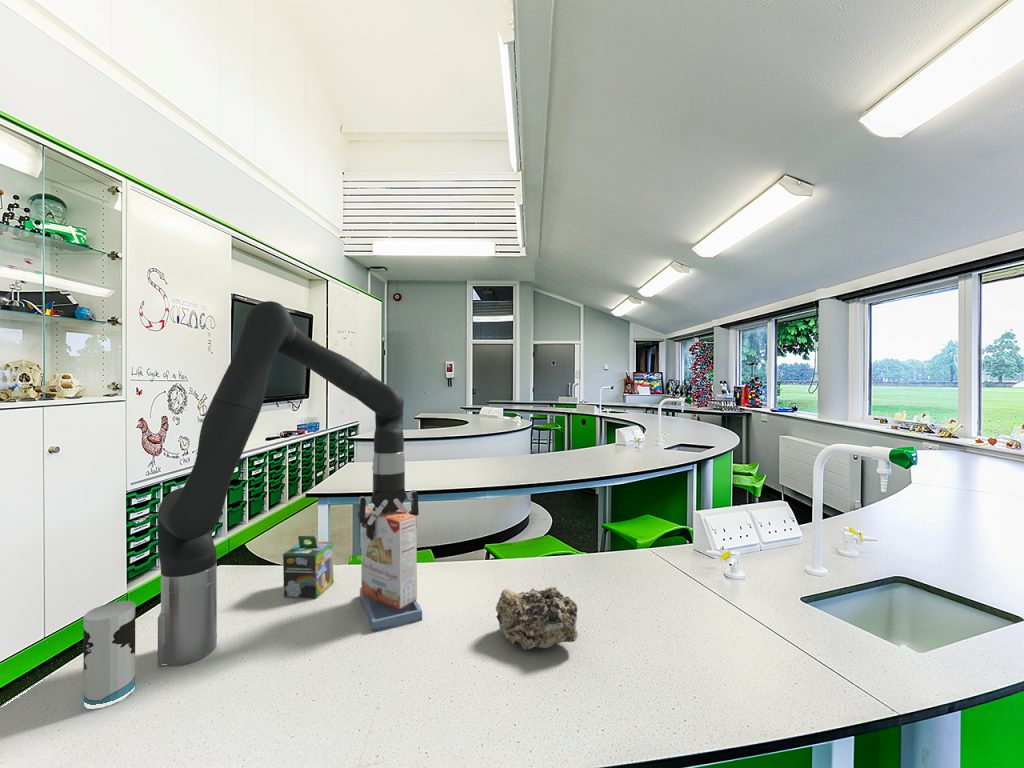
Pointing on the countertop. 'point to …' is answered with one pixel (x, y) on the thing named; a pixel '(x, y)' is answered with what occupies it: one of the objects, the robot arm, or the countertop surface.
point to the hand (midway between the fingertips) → (388, 536)
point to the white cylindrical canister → (109, 652)
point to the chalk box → (308, 568)
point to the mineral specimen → (537, 617)
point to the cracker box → (390, 559)
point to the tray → (389, 613)
